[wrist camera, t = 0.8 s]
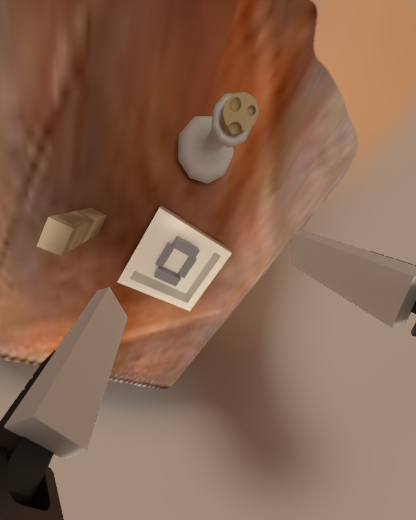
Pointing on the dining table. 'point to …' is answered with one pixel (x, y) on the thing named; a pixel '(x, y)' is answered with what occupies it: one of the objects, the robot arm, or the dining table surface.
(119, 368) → the dining table surface
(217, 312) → the dining table surface
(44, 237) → the tapered beige beam
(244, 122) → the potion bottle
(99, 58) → the dining table surface
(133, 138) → the dining table surface
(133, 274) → the white square tray
